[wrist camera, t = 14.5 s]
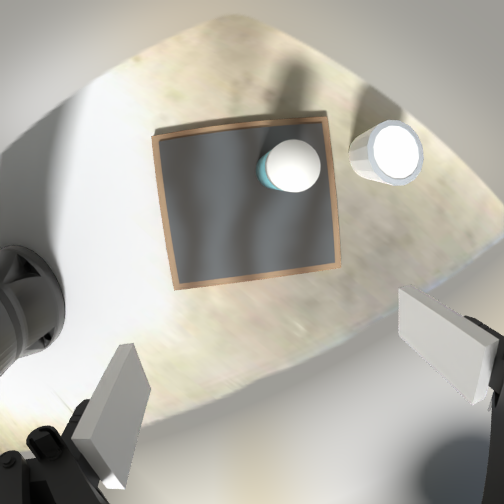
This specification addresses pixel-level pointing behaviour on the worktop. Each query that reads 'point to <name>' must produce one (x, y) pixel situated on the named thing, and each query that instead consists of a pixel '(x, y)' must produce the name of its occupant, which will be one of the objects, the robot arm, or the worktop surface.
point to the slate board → (243, 204)
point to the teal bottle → (289, 167)
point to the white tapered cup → (387, 153)
